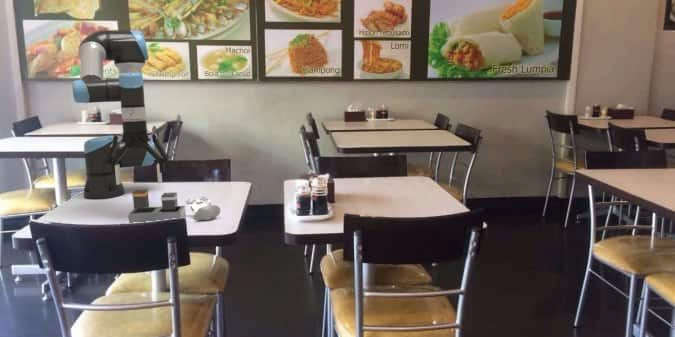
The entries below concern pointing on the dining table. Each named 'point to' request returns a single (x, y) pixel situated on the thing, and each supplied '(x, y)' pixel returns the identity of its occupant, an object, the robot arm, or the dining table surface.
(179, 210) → the grey holder
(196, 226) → the dining table surface
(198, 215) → the figurine
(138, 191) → the plug
